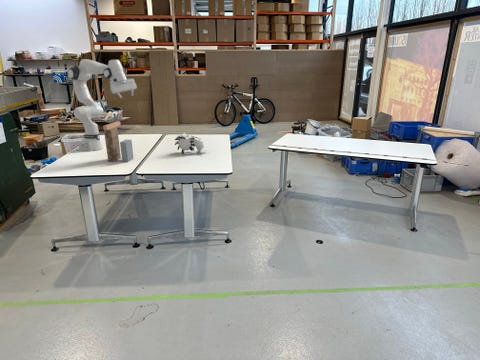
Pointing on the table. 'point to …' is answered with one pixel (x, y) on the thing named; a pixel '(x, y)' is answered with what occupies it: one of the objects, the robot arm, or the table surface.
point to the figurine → (190, 143)
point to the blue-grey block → (126, 150)
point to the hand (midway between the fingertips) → (127, 96)
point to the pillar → (112, 144)
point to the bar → (111, 125)
